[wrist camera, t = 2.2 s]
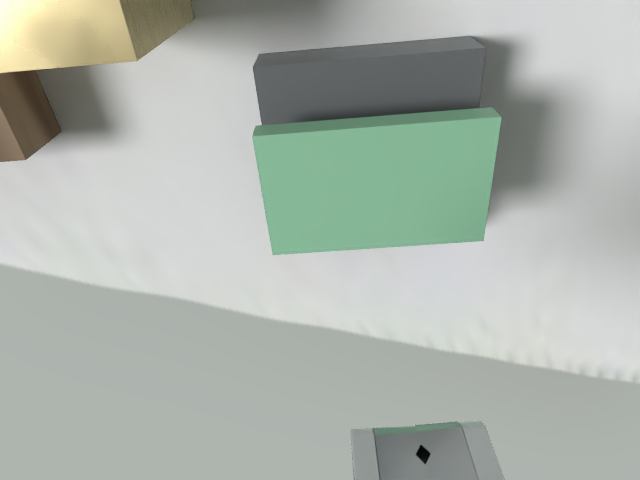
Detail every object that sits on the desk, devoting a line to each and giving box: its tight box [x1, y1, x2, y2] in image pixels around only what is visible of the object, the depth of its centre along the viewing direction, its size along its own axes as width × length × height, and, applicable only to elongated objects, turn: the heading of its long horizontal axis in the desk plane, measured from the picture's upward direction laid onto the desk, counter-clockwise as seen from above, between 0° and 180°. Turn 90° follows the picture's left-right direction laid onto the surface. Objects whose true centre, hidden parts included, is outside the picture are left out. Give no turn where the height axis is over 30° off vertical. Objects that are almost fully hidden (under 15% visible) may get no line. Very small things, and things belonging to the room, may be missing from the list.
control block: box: [253, 36, 486, 125], centre depth 23 cm, size 10×10×2 cm
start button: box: [252, 107, 502, 255], centre depth 21 cm, size 10×6×3 cm, turn 95°
